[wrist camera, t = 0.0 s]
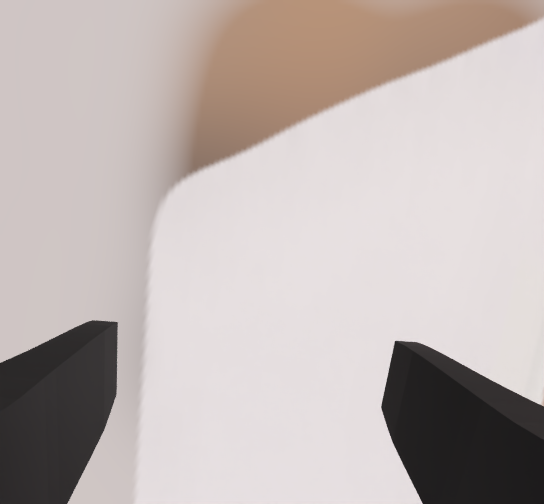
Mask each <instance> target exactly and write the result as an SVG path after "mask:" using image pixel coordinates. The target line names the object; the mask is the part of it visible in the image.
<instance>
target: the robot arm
mask: <svg viewBox="0 0 544 504" xmlns="http://www.w3.org/2000/svg"><path fill="white" fill-rule="evenodd" d="M117 324H118V323H117V322H108V321H89V322H86V323H84V324H82V325H80V326H77V327H75V328H73V329H71V330H69V331H67V332H65V333H63V334H61V335H59V336H57V337H55V338H53V339H51V340H49V341H47V342H45V343H43V344H41V345H39V346H37V347H35V348H33V349H31V350H29V351H26V352H24V353H22V354H20V355H17V356H15V357H13V358H11V359H8V360H6V361H4V362H2V363H0V504H67V503H68V501H69V499H70V497H71V495H72V493H73V491H74V489H75V487H76V485H77V483H78V481H79V479H80V477H81V475H82V473H83V471H84V469H85V467H86V465H87V463H88V461H89V460H90V458H91V456H92V454H93V451H94V449H95V447H96V445H97V443H98V441H99V439H100V437H101V435H102V433H103V431H104V429H105V426H106V423H107V420H108V418H109V415H110V412H111V409H112V406H113V403H114V399H115V397H116V389H117V327H118V326H117ZM381 408H382V411H383V415H384V418H385V421H386V424H387V427H388V430H389V433H390V436H391V439H392V442H393V444H394V446H395V448H396V450H397V452H398V454H399V456H400V458H401V461H402V463H403V465H404V467H405V469H406V471H407V473H408V475H409V477H410V479H411V481H412V483H413V485H414V487H415V489H416V491H417V493H418V495H419V497H420V499H421V501H422V503H423V504H544V406H541V405H539V404H537V403H535V402H533V401H531V400H529V399H527V398H525V397H523V396H521V395H519V394H517V393H515V392H513V391H511V390H509V389H507V388H505V387H503V386H501V385H499V384H497V383H495V382H493V381H491V380H490V379H488V378H486V377H484V376H482V375H480V374H478V373H477V372H475V371H473V370H471V369H469V368H468V367H466V366H464V365H462V364H460V363H458V362H457V361H455V360H453V359H451V358H449V357H447V356H446V355H444V354H442V353H440V352H438V351H436V350H434V349H432V348H430V347H428V346H425V345H423V344H420V343H417V342H404V341H395V344H394V349H393V354H392V358H391V363H390V368H389V373H388V377H387V382H386V387H385V392H384V396H383V401H382V406H381Z"/></svg>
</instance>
